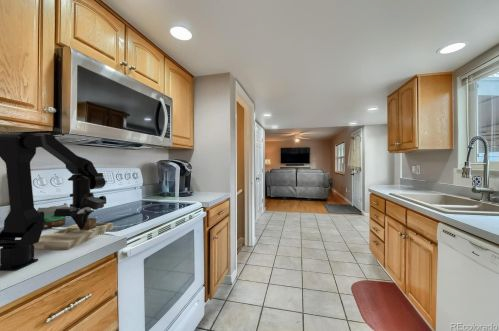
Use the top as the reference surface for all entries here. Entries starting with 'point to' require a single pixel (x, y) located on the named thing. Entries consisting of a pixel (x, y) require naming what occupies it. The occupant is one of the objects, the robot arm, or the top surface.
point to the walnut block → (90, 224)
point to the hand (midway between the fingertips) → (81, 228)
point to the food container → (52, 217)
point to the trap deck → (70, 236)
